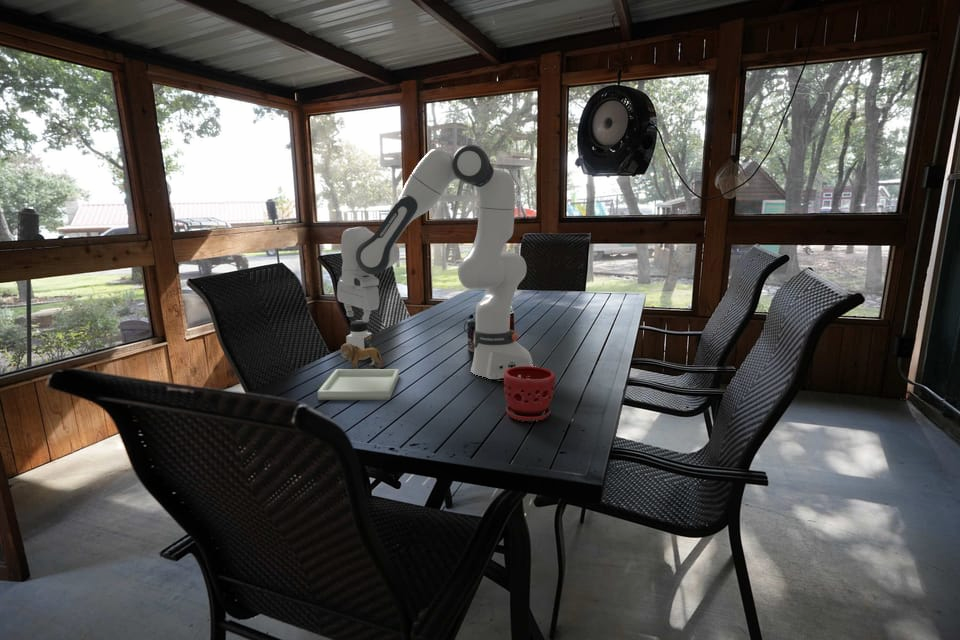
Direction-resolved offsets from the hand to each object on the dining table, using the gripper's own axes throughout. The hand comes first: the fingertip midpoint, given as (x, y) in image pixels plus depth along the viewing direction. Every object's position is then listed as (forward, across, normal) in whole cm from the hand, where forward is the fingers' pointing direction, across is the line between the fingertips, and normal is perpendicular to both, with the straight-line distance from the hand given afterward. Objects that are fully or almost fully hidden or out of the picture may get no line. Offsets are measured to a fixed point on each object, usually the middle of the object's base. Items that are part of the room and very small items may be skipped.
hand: (357, 319), depth 170 cm
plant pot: (+15, +66, +11) cm, 68 cm away
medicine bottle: (+17, -15, +10) cm, 25 cm away
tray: (+16, +17, -10) cm, 26 cm away
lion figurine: (+17, +1, +1) cm, 17 cm away
